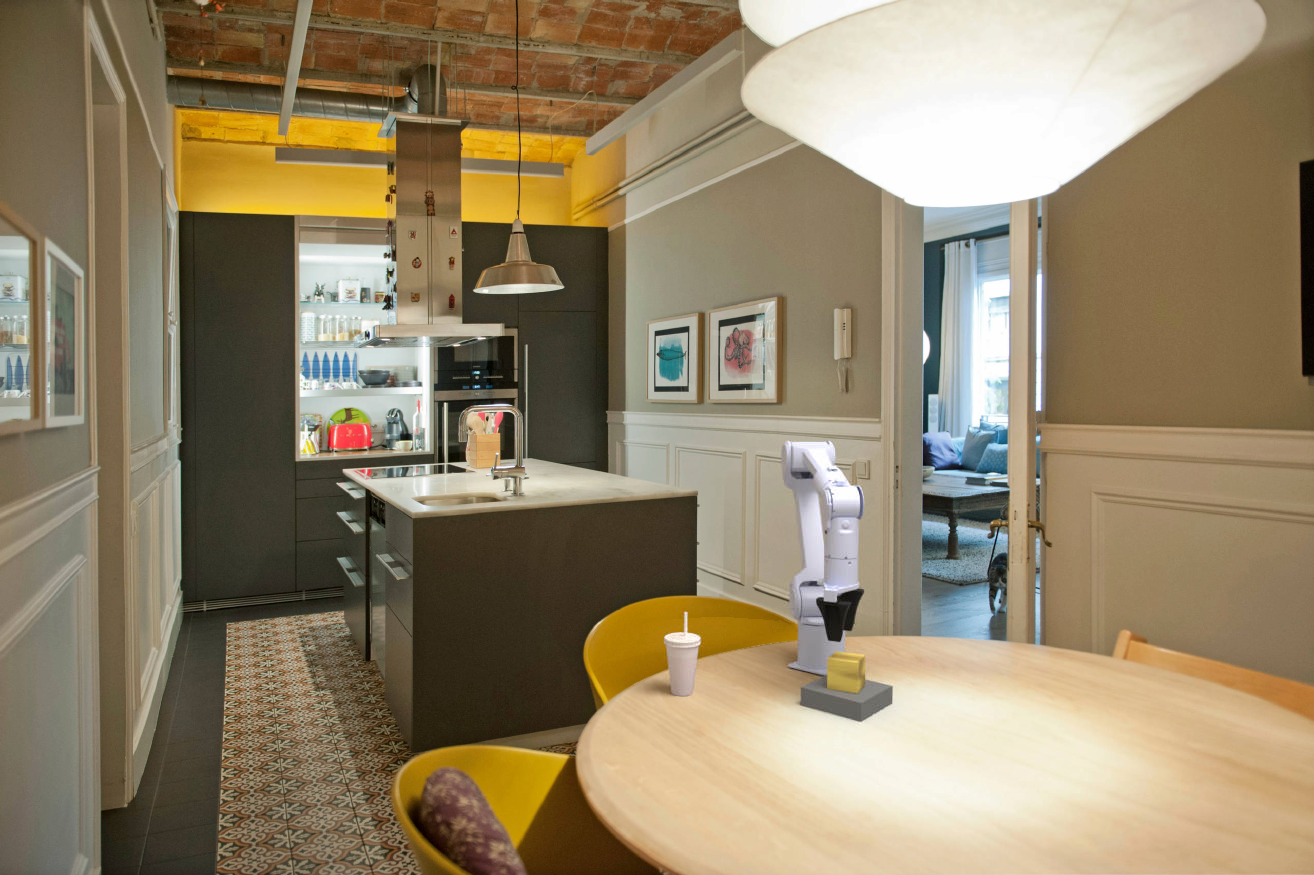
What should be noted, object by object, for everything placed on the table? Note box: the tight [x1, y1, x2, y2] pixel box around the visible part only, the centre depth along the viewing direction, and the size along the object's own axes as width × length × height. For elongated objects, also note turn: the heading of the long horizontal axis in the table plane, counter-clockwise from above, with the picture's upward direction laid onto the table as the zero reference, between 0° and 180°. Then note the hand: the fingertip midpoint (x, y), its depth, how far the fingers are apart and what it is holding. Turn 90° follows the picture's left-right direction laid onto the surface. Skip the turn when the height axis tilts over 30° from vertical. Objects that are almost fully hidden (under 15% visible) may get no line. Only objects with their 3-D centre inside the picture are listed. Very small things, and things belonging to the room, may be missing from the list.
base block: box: [800, 675, 894, 723], centre depth 139 cm, size 11×11×4 cm
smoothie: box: [663, 611, 702, 697], centre depth 144 cm, size 6×6×14 cm
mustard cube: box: [827, 651, 866, 693], centre depth 139 cm, size 5×5×5 cm
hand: (840, 635), depth 143 cm, fingers open, 7 cm apart
